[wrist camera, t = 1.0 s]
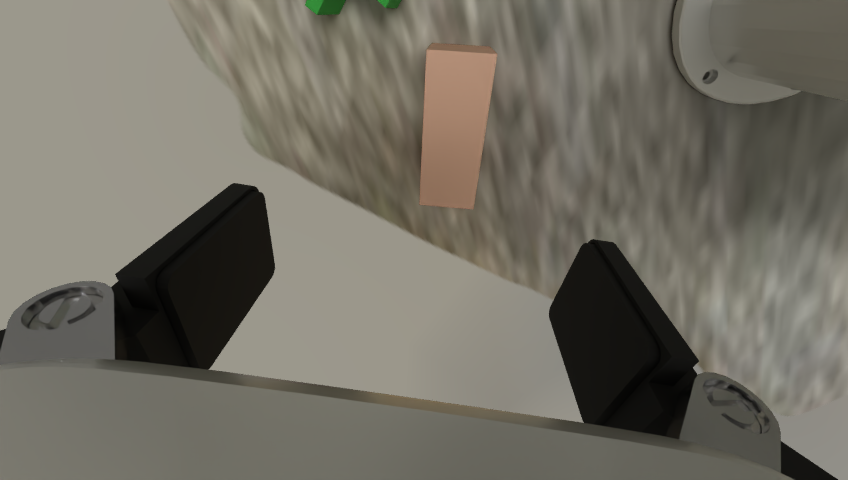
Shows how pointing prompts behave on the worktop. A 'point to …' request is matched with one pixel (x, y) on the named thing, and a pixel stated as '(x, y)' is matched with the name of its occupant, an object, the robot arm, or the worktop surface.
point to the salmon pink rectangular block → (454, 122)
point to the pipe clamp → (340, 5)
